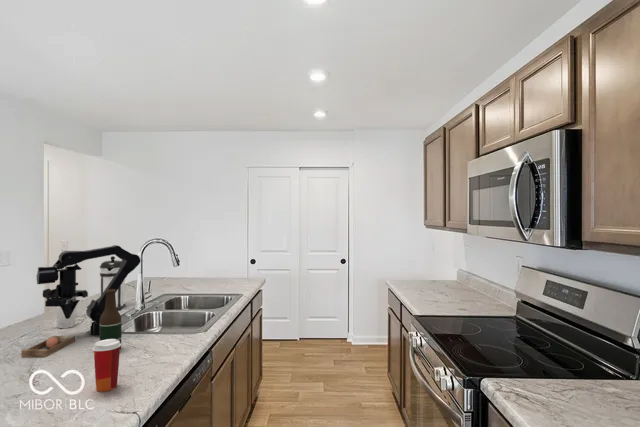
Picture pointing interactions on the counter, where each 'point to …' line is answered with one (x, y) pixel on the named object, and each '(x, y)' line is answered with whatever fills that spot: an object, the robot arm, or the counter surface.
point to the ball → (52, 342)
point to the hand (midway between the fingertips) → (67, 318)
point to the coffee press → (107, 274)
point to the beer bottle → (110, 319)
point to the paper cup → (106, 364)
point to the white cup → (63, 321)
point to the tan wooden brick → (61, 338)
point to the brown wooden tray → (45, 349)
